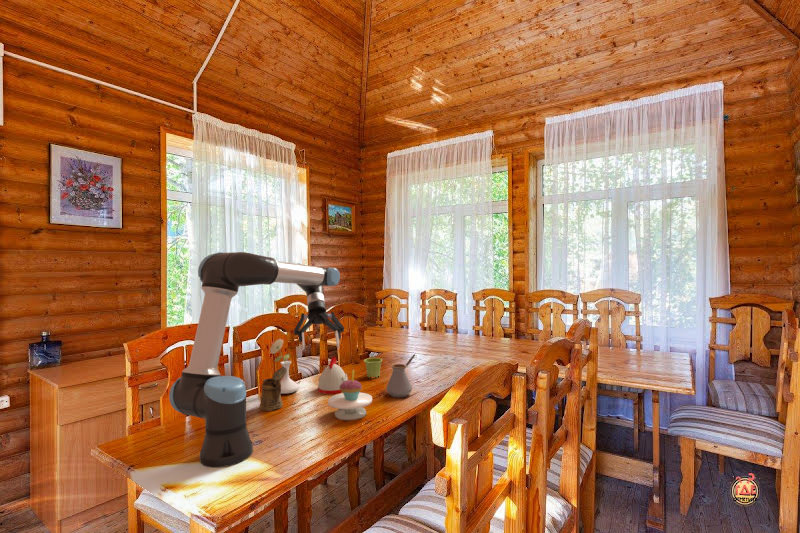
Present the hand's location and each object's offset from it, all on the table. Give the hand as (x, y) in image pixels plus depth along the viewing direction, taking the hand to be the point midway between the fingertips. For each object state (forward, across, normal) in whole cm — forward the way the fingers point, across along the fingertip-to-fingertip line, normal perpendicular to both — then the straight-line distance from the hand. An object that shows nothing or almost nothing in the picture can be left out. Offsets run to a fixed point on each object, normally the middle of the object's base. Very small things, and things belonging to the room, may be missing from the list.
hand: (321, 346), depth 165 cm
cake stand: (+24, -10, -12) cm, 28 cm away
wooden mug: (+12, +18, -25) cm, 33 cm away
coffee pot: (+10, -39, -26) cm, 48 cm away
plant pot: (-10, -32, -46) cm, 57 cm away
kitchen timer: (0, -9, -37) cm, 38 cm away
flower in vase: (-3, +13, -40) cm, 42 cm away
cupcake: (+20, -10, -8) cm, 23 cm away
